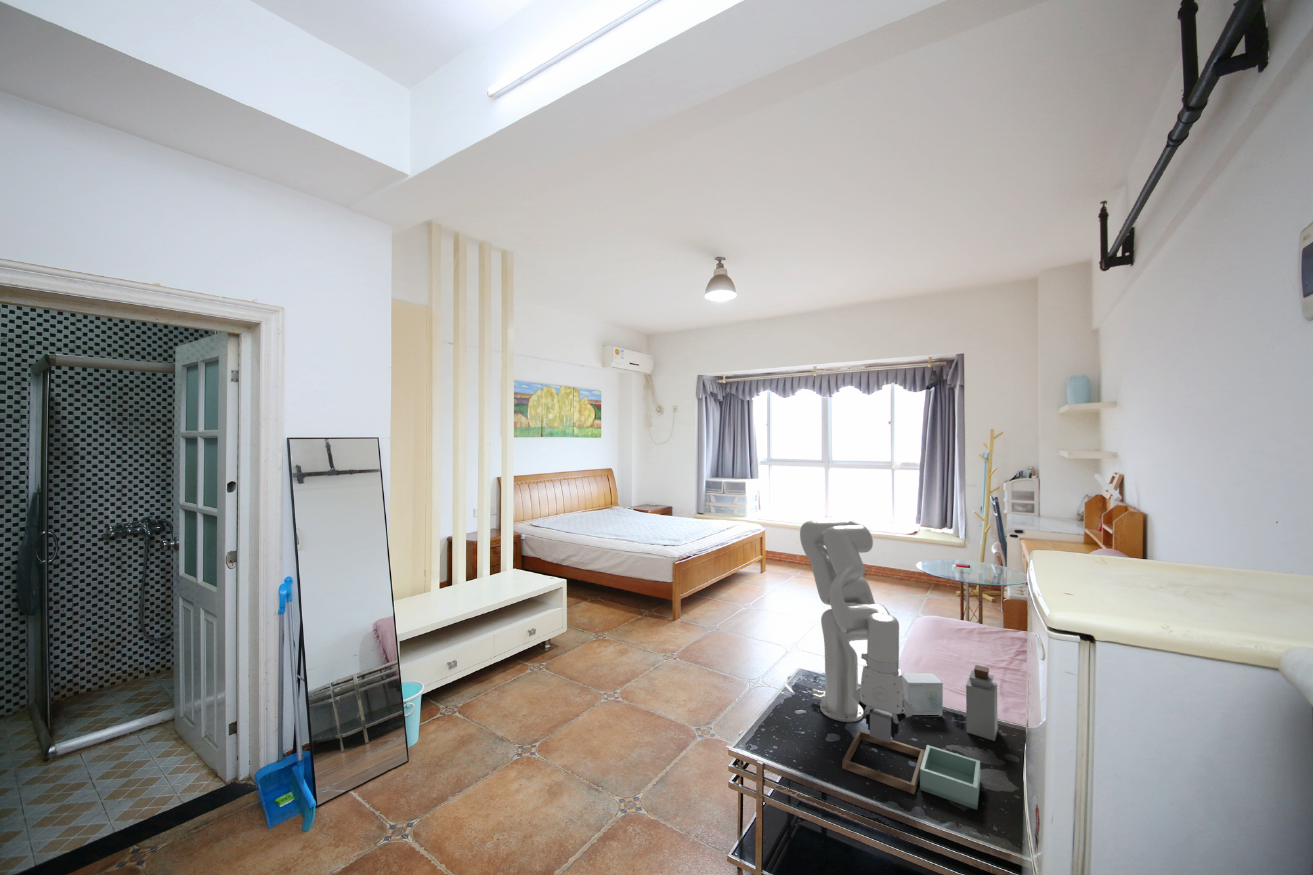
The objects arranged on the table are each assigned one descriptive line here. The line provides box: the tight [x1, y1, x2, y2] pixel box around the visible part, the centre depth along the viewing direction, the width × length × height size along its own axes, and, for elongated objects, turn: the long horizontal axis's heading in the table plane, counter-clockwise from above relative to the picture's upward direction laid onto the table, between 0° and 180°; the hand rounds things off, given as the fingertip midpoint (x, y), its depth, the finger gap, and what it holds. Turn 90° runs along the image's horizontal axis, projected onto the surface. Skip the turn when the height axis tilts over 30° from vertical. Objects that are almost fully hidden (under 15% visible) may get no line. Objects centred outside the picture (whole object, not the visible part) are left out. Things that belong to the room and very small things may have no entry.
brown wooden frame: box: [841, 729, 926, 795], centre depth 132 cm, size 17×17×2 cm
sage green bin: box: [919, 744, 981, 811], centre depth 123 cm, size 12×12×5 cm
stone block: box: [869, 707, 893, 743], centre depth 132 cm, size 5×5×6 cm
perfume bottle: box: [965, 664, 999, 742], centre depth 145 cm, size 7×7×18 cm
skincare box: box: [901, 672, 944, 717], centre depth 156 cm, size 10×6×10 cm, turn 88°
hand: (882, 730), depth 133 cm, fingers closed on stone block, 5 cm apart
